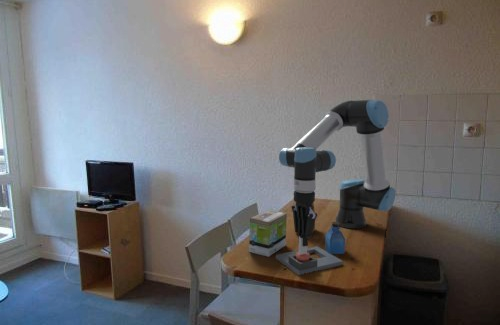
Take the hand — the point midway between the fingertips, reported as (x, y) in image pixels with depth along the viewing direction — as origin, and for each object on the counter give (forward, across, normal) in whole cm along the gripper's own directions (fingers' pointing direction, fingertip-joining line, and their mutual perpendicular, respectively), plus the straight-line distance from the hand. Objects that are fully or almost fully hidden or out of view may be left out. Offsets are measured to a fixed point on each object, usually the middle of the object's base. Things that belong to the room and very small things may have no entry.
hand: (302, 253), depth 128 cm
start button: (+2, 0, 0) cm, 2 cm away
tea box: (+6, -22, -2) cm, 23 cm away
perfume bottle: (+6, -8, +22) cm, 24 cm away
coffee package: (+6, -33, +24) cm, 41 cm away
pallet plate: (+6, -4, +6) cm, 9 cm away
